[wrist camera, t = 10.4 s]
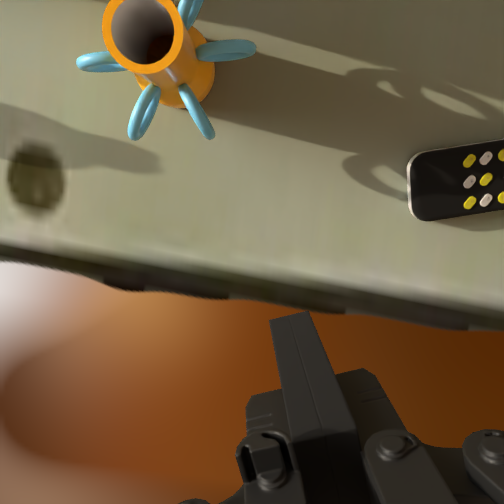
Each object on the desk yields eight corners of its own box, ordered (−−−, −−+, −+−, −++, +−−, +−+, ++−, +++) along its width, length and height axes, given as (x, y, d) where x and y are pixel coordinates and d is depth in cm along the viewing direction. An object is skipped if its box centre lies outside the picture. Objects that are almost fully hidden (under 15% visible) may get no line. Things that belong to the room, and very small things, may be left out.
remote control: (403, 153, 39) (412, 154, 37) (544, 131, 39) (560, 131, 37) (407, 220, 40) (415, 225, 38) (542, 199, 40) (557, 203, 38)
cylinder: (150, -38, 34) (88, -163, 19) (268, 30, 35) (291, -38, 21) (91, 108, 37) (-1, 94, 22) (203, 165, 38) (185, 187, 24)
